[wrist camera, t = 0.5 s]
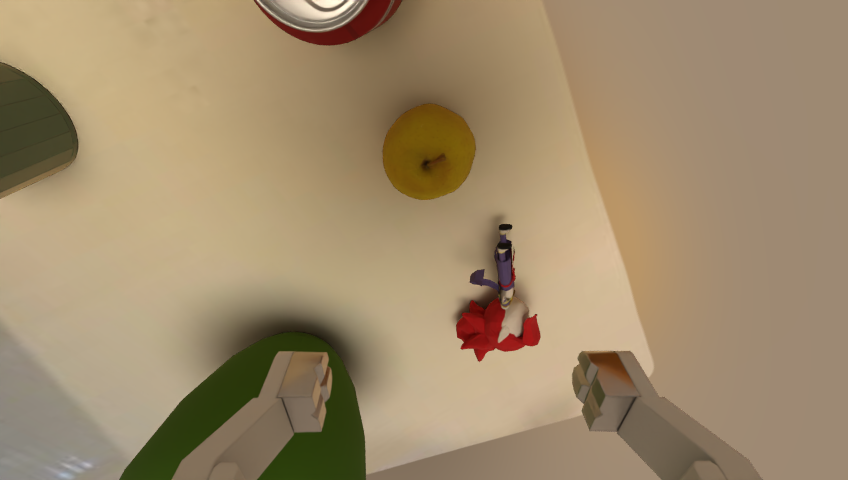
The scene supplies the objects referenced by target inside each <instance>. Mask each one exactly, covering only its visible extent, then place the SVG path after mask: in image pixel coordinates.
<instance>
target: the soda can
mask: <svg viewBox="0 0 848 480" xmlns="http://www.w3.org/2000/svg"><path fill="white" fill-rule="evenodd" d="M254 1H255V3H256V4H257V5H258V7H259V8H260V9H261V10H262V12H263V13H264V14H265V15H266V16H267V17H268V18H269V19H270V20H271V21H272V22H273V23H274V24H276V25H277V26H278V27H279V28H281V29H282V30H284V31H285V32H287V33H288V34H290V35H292V36H294V37H296V38H298V39H300V40H302V41H305V42H308V43H312V44H317V45H340V44H344V43H348V42H351V41H353V40H356V39H357V38H359V37H361V36H363V35H365V34H366V33H368V32H370V31H372V30H373V29H375V28H377V27H379V26H380V25H382V24H383V23H385V22H386V21H387V20H388V19H389V18H390V17H391V16H392V15H393V14H394V13H395V12H396V10H397V9H398V7H399V5H400V3H401V1H402V0H254Z"/></svg>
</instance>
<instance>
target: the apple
mask: <svg viewBox="0 0 848 480" xmlns="http://www.w3.org/2000/svg"><path fill="white" fill-rule="evenodd" d="M475 150H476V145H475V139H474V136H473V134H472V132H471V130H470V128H469V126H468V125H467V123H466V122H465V121H464V119H463V118H462V117H460V116H459V115H457V114H455V113H454V112H452V111H450V110H448V109H446V108H444V107H442V106H439V105H436V104H431V103H428V104H423V105H420V106H417V107H415V108H413V109H410V110H409V111H407V112H405V113H404V114H403V115H401V116H400V117H399V118H398V119H397V120H396V122H395V123H394V124H393V125H392V127H391V128H390V129H389V131H388V133H387V135H386V138H385V141H384V145H383V164H384V168H385V171H386V174H387V176H388V178H389V180H390V181H391V183H392V184H393V186H394V187H395V188H396V189H397V190H398V191H400V192H401V193H403V194H405V195H407V196H409V197H412V198H415V199H419V200H430V199H434V198H438V197H440V196H444V195H446V194H448V193H451V192H454V191H455V190H456V189H458V188H459V187H460V185H462V183H463V182H464V181H465V179H466V178H467V176H468V175H469V172H470V170H471V166H472V163H473V159H474V156H475Z"/></svg>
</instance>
